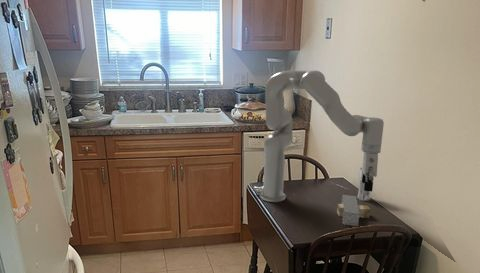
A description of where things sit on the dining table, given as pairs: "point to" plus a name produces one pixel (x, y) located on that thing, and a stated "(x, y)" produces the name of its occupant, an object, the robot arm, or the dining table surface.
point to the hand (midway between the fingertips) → (366, 186)
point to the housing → (350, 210)
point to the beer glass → (363, 194)
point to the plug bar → (363, 211)
